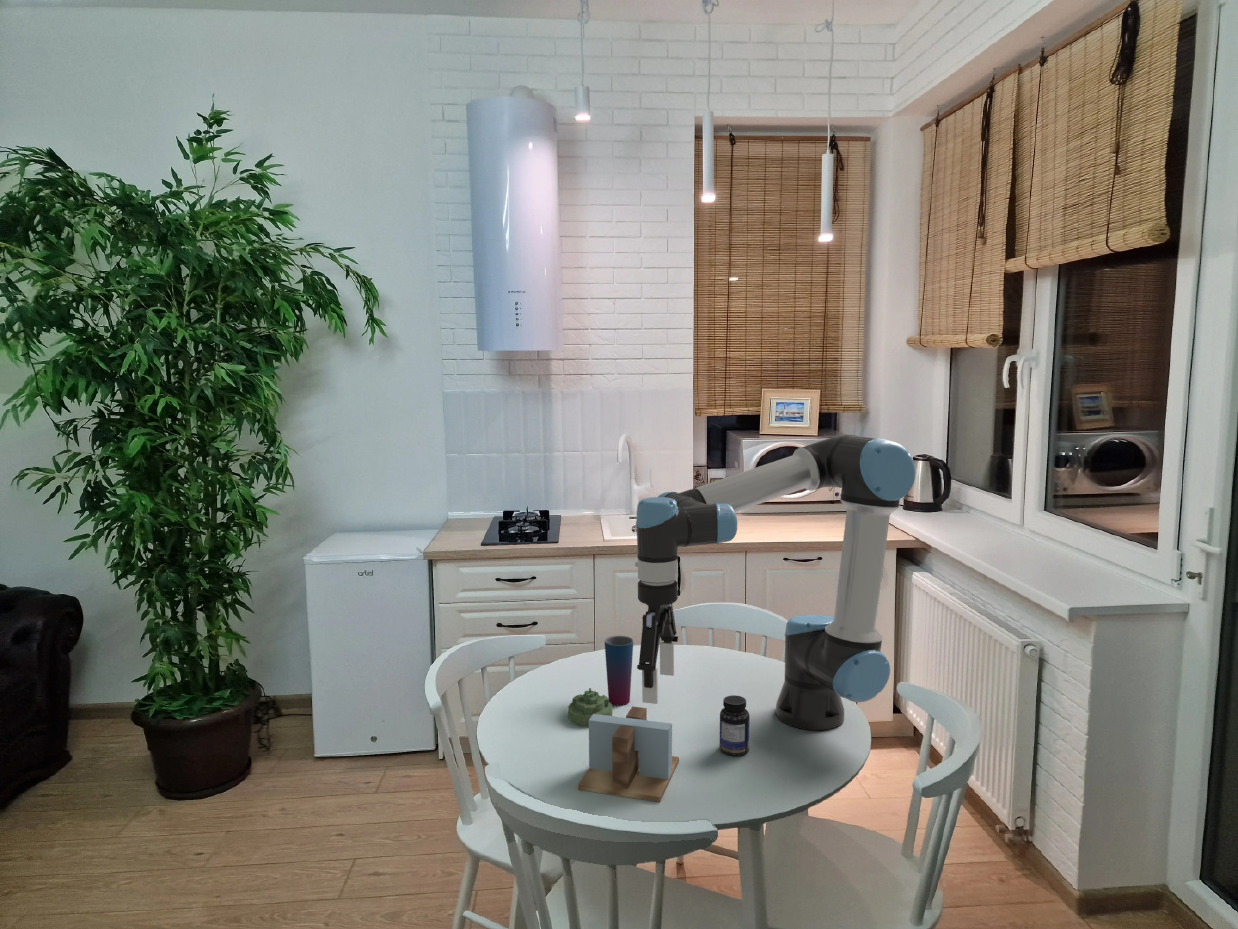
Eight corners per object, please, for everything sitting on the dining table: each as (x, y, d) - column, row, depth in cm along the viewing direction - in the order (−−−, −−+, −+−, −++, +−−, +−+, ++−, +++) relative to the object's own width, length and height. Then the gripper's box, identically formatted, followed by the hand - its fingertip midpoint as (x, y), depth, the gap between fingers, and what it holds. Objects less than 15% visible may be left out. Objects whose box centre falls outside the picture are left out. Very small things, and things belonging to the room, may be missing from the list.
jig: (678, 761, 169) (679, 709, 168) (660, 802, 154) (660, 745, 152) (603, 751, 174) (603, 700, 172) (578, 789, 158) (577, 734, 157)
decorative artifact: (618, 723, 187) (603, 706, 196) (618, 693, 186) (603, 677, 195) (575, 730, 184) (563, 712, 193) (575, 700, 183) (562, 683, 192)
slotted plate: (671, 772, 163) (672, 723, 161) (668, 779, 160) (668, 730, 159) (593, 761, 167) (593, 713, 166) (589, 768, 164) (588, 720, 163)
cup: (630, 708, 194) (630, 646, 192) (602, 706, 196) (601, 644, 194) (635, 696, 201) (635, 636, 199) (608, 694, 202) (607, 634, 200)
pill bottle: (729, 740, 178) (730, 691, 177) (754, 749, 174) (755, 698, 173) (713, 751, 173) (714, 700, 172) (739, 760, 170) (739, 708, 168)
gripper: (654, 562, 170) (655, 662, 173) (619, 598, 146) (621, 713, 149) (690, 564, 168) (691, 665, 171) (661, 601, 144) (662, 717, 147)
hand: (658, 688), depth 160 cm, fingers open, 13 cm apart
